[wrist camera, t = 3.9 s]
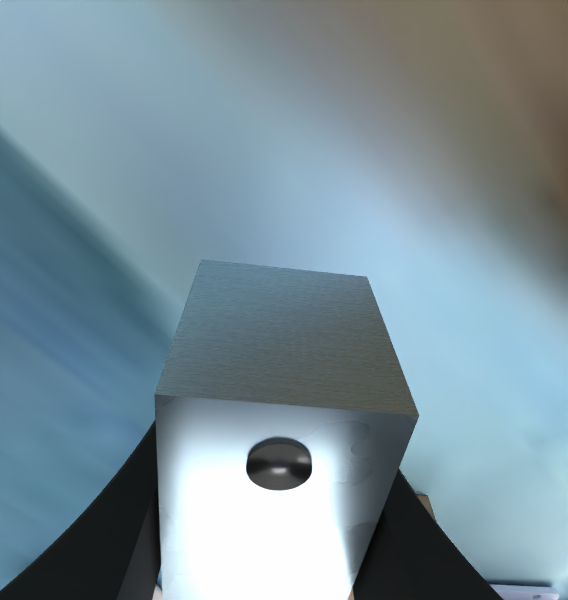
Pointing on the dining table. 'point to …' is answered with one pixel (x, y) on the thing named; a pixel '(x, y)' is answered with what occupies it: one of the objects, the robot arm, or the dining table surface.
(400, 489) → the robot arm
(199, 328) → the block
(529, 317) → the dining table surface
